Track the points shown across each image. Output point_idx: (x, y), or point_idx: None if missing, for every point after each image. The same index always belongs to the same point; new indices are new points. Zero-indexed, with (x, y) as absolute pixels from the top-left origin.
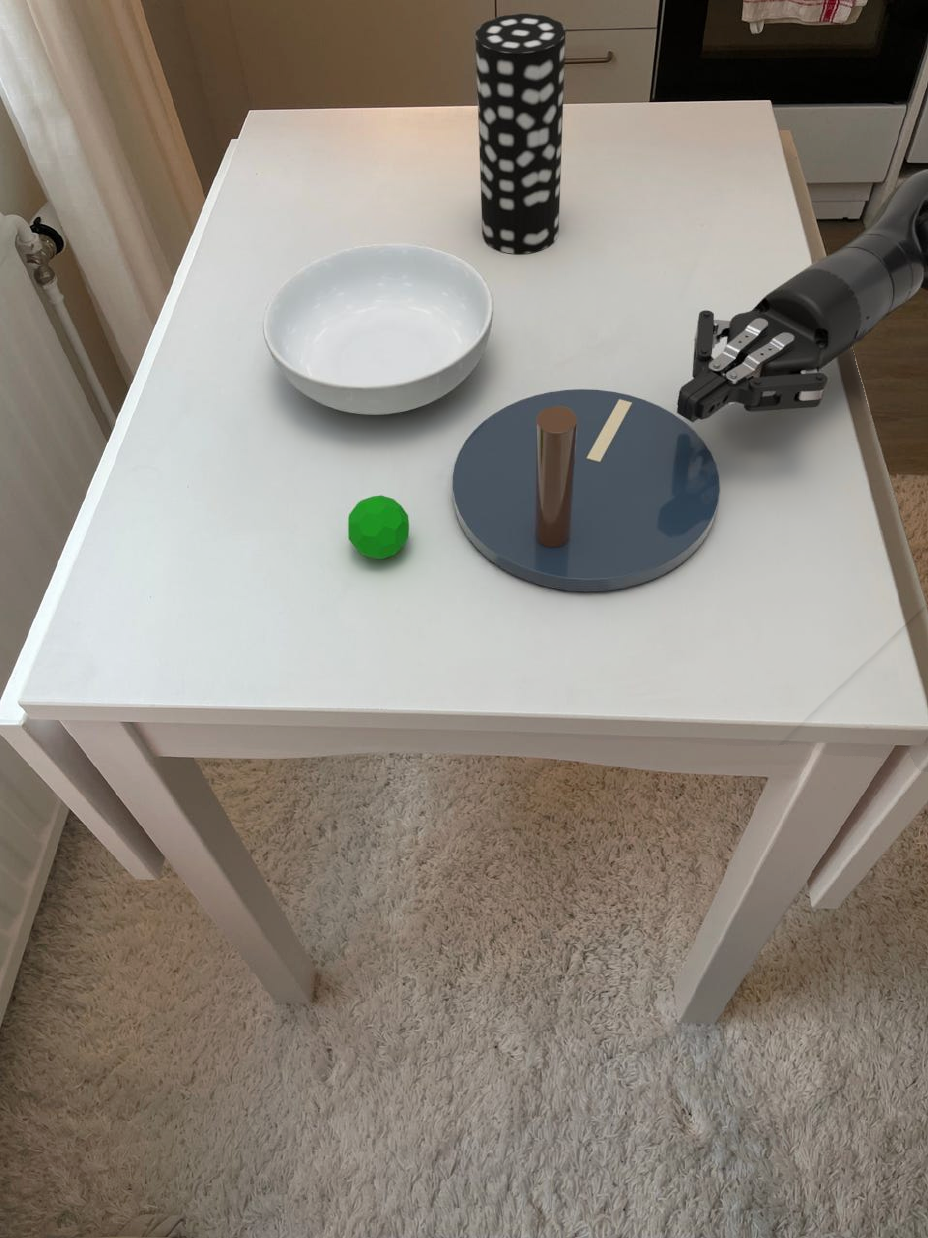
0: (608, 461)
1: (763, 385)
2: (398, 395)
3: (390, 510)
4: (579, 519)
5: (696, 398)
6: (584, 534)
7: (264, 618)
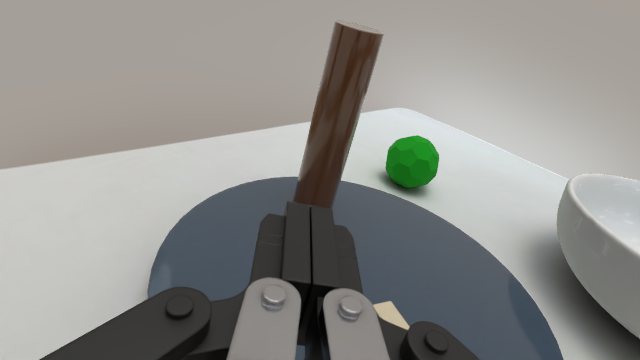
0: None
1: (149, 310)
2: (561, 204)
3: (412, 144)
4: None
5: (293, 203)
6: None
7: (388, 139)
